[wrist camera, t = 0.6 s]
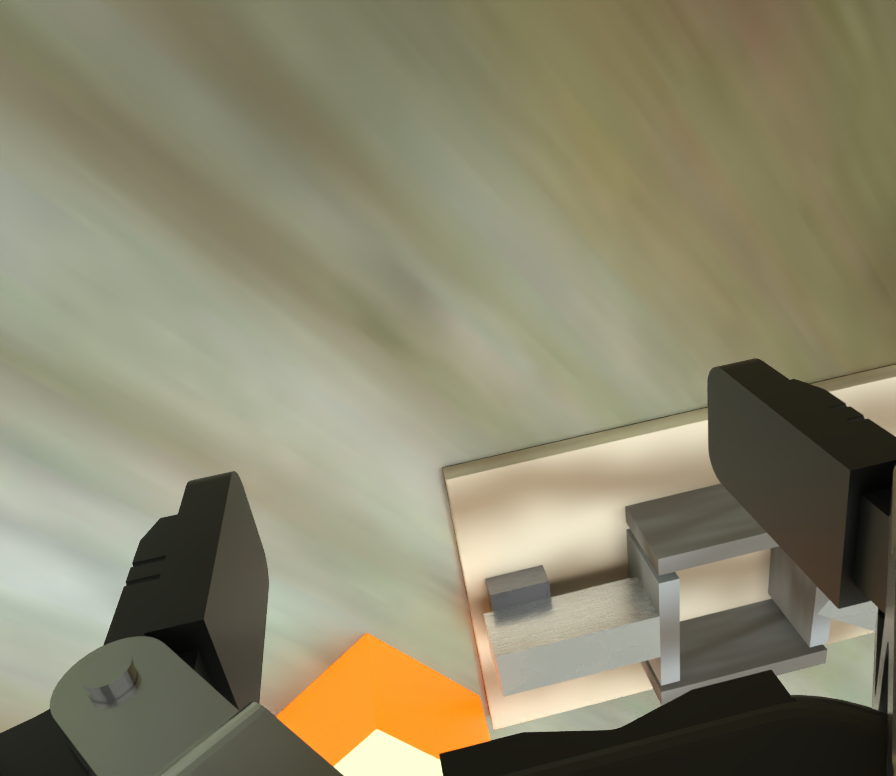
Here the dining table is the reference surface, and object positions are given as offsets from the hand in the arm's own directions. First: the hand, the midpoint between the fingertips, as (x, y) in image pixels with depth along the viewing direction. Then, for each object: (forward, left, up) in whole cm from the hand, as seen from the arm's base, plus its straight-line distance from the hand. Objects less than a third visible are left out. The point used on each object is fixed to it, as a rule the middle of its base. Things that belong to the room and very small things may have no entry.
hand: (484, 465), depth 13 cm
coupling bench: (+22, +13, -19) cm, 32 cm away
